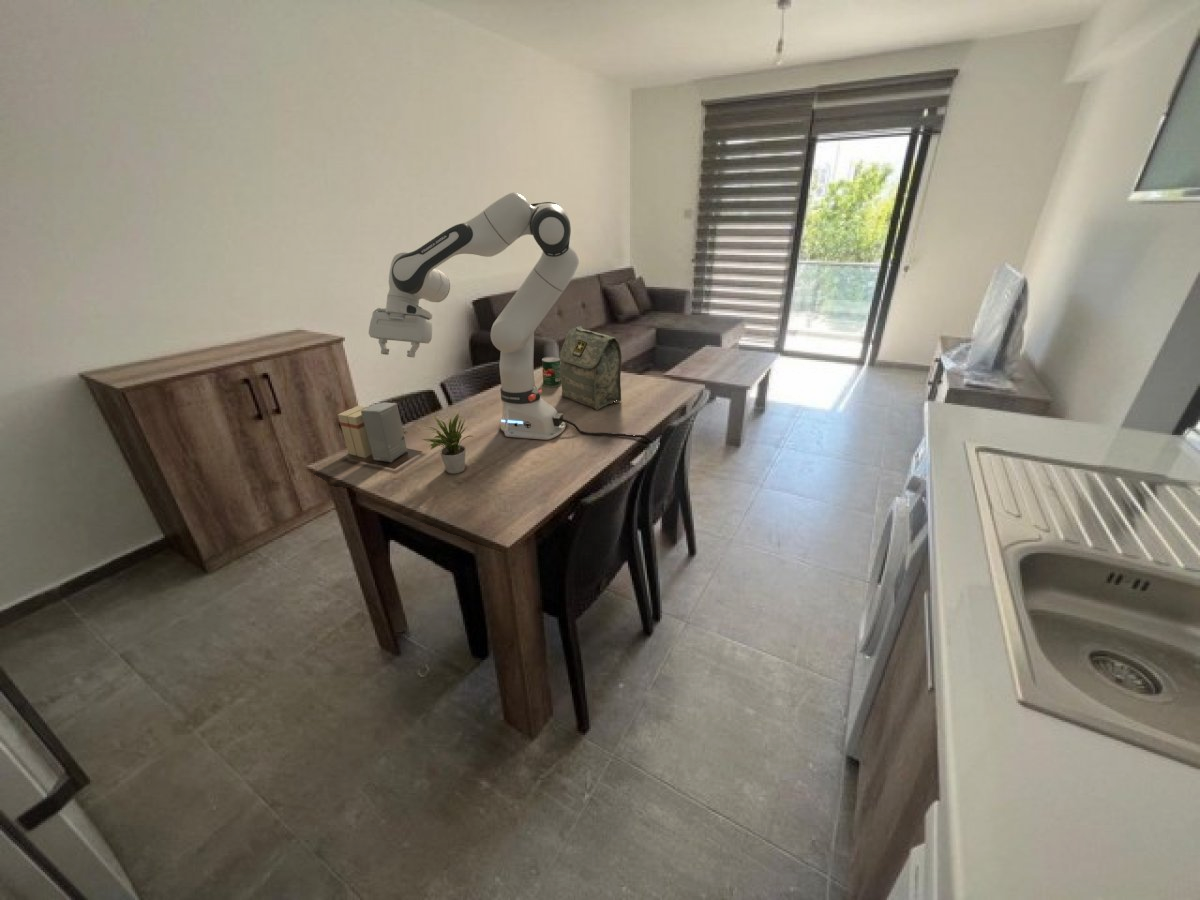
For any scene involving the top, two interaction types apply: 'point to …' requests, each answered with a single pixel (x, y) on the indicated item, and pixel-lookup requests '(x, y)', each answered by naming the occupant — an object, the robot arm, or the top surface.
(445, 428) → the house plant
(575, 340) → the lunch bag
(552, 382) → the canned tomato
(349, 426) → the cream boxes
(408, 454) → the brown flat rectangular panel
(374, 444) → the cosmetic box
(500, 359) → the robot arm
